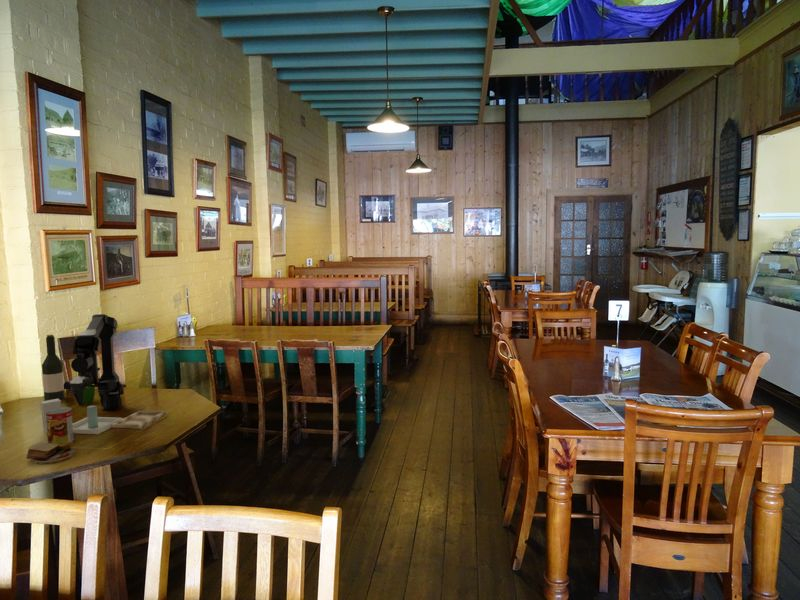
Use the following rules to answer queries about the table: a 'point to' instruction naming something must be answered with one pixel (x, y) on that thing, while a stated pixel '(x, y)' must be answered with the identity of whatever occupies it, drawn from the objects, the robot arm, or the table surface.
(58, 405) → the skincare box
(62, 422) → the canned food
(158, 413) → the tray
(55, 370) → the wine bottle
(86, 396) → the bell pepper
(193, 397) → the table surface
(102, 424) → the white rimmed platter
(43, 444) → the toy sandwich meal
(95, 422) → the pin
